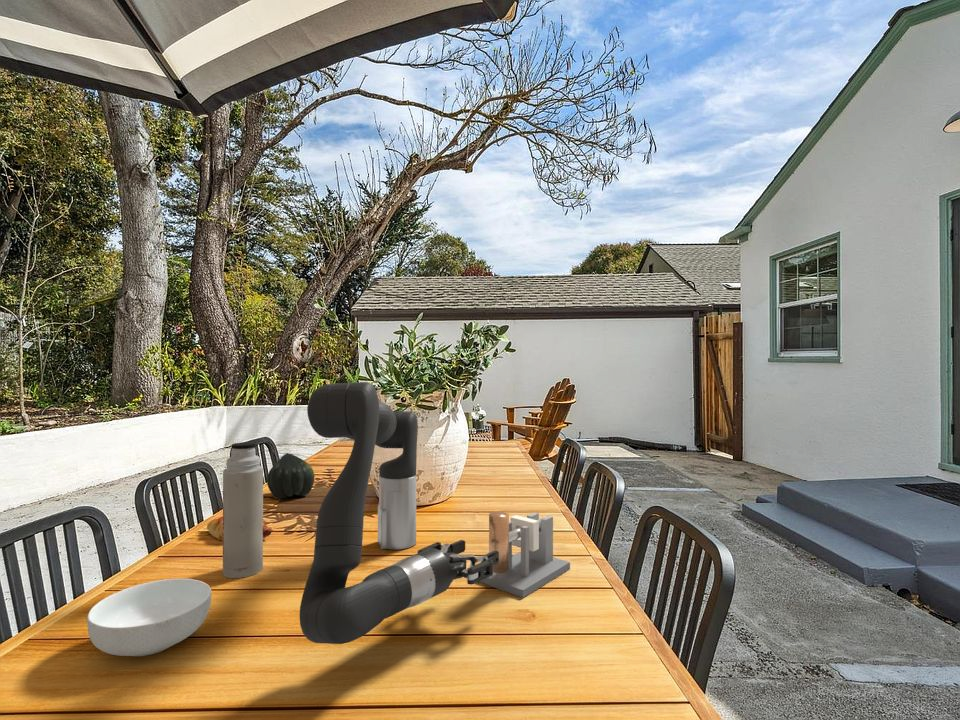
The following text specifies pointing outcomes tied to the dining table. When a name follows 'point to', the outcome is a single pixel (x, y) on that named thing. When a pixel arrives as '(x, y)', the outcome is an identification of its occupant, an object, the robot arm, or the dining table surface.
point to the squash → (290, 477)
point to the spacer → (533, 531)
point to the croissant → (217, 528)
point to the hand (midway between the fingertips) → (480, 550)
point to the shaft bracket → (530, 563)
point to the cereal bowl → (149, 616)
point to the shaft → (502, 538)
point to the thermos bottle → (242, 512)
